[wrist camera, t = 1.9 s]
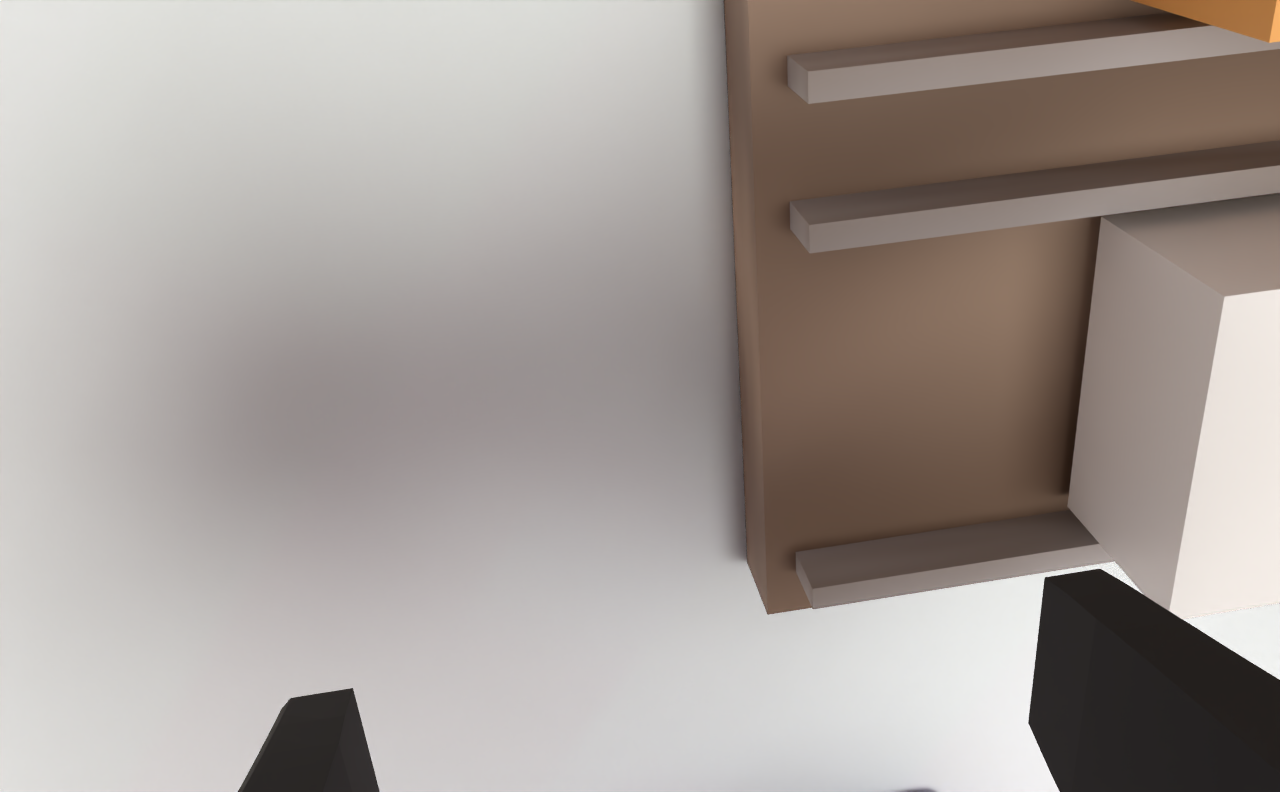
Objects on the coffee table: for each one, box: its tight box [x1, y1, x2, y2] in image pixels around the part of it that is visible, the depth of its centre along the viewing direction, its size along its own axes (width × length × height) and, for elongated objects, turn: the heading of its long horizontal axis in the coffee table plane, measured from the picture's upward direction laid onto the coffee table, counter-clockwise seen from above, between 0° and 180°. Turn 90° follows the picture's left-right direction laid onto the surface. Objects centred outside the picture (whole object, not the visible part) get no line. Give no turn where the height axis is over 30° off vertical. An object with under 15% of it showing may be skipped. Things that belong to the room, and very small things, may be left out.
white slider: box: [1067, 193, 1280, 619], centre depth 17 cm, size 5×4×3 cm
